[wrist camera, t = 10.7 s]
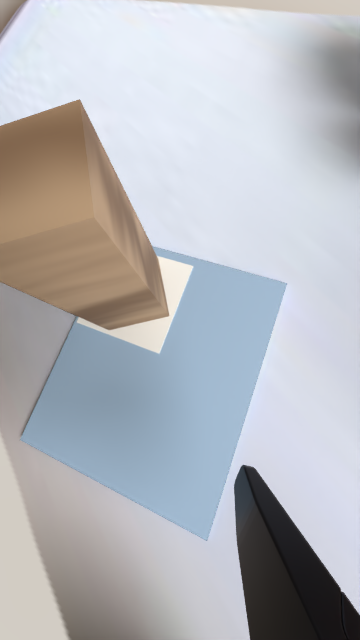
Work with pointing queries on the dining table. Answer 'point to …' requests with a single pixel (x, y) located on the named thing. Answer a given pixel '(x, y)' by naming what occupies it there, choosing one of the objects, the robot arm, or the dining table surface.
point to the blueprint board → (162, 391)
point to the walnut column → (73, 223)
